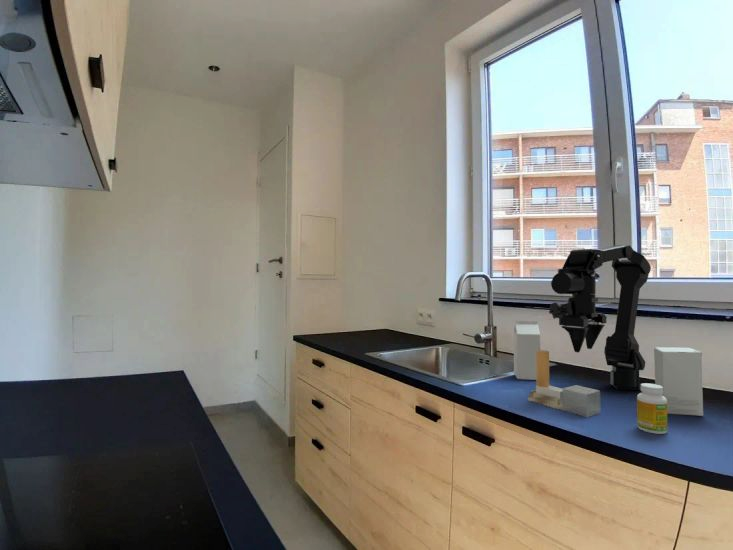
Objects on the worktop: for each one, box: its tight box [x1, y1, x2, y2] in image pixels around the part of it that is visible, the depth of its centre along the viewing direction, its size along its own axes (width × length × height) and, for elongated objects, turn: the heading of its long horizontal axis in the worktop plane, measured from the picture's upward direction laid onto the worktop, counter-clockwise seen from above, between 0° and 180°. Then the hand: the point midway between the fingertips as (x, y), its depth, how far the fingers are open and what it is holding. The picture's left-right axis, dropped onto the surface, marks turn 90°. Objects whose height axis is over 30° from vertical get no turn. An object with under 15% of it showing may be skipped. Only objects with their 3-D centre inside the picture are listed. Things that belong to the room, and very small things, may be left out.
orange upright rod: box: [535, 349, 563, 404], centre depth 106 cm, size 8×3×12 cm, turn 32°
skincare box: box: [653, 346, 704, 417], centre depth 99 cm, size 8×7×16 cm
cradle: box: [527, 389, 563, 411], centre depth 106 cm, size 10×6×2 cm, turn 32°
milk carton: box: [513, 320, 541, 381], centre depth 134 cm, size 7×7×19 cm
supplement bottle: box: [636, 382, 668, 435], centre depth 87 cm, size 5×5×10 cm
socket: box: [562, 384, 601, 418], centre depth 99 cm, size 6×6×6 cm
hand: (583, 350), depth 110 cm, fingers open, 9 cm apart
